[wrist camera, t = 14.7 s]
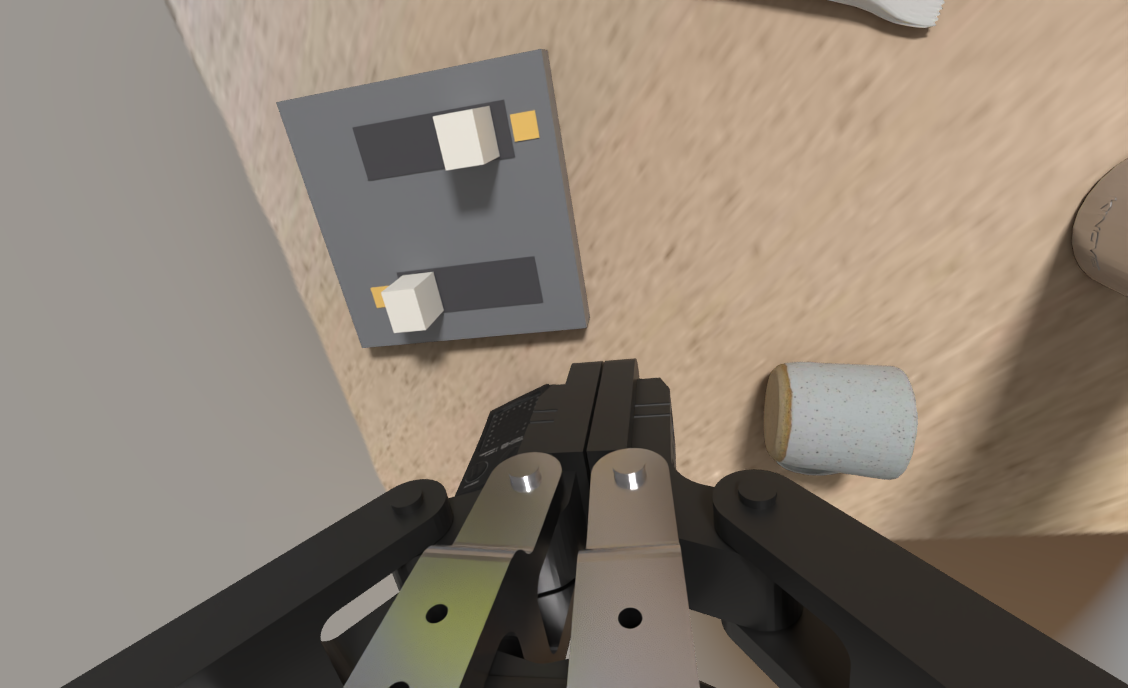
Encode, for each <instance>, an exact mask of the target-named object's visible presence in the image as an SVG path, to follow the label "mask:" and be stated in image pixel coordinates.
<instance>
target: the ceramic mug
mask: <svg viewBox="0 0 1128 688" xmlns="http://www.w3.org/2000/svg"><path fill="white" fill-rule="evenodd" d="M917 425H918V417H917V409H916V400H915V394H914V392H913V389H912V386H911V383H910V381H909V379H908V377H907V375H906V374H905V373H904V372H903V371H902V370H901V369H899V368H897V367H894V366H878V365H858V364H831V363H816V362H793V363H784V364H780V365H778V366H777V367H776V368H774V370H773V371H772V372H771V374H770V376H769V380H768V384H767V389H766V395H765V405H764V439H765V445H766V448H767V452H768V453H769V455H770V456H771V457H772V458H773V459H774V460H776V462H777V463H778V464H779V465H780V466H782V467H783V468H785V469H787V470H790V471H792V472H796V473H800V474H806V475H832V474H837V473H844V474H851V475H858V476H864V477H871V478H878V479H887V480H892V479H896V478H898V477H899V476H900V475H901V474H902V473H903V472H904V471H905V470H906V468H907V466H908V464H909V462H910V460H911V457H912V454H913V450H914V444H915V440H916V434H917Z"/></svg>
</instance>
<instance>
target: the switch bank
mask: <svg viewBox="0 0 1128 688" xmlns="http://www.w3.org/2000/svg"><path fill="white" fill-rule="evenodd" d="M276 103H277V106H278V109H279V112H280V115H281V118H282V121H283V123H284V126H285V129H286V132H287V135H288V138H289V141H290V143H291V146H292V149H293V152H294V155H295V158H296V161H297V163H298V166H299V169H300V172H301V175H302V178H303V180H304V183H305V186H306V189H307V192H308V195H309V198H310V200H311V203H312V206H313V209H314V212H315V215H316V218H317V220H318V223H319V226H320V229H321V232H322V235H323V238H324V240H325V243H326V246H327V249H328V252H329V255H330V258H331V260H332V263H333V266H334V269H335V272H336V275H337V277H338V280H339V283H340V286H341V289H342V292H343V295H344V297H345V300H346V303H347V306H348V309H349V312H350V315H351V317H352V320H353V323H354V326H355V329H356V332H357V335H358V337H359V340H360V343H361V346H362V348H368V347H379V346H390V345H401V344H412V343H424V342H435V341H446V340H457V339H468V338H479V337H491V336H502V335H513V334H524V333H535V332H546V331H557V330H569V329H580V328H587V325H588V322H589V318H590V314H589V308H588V302H587V295H586V289H585V283H584V277H583V270H582V264H581V258H580V251H579V245H578V239H577V233H576V226H575V220H574V214H573V207H572V201H571V195H570V189H569V182H568V176H567V170H566V163H565V157H564V151H563V145H562V138H561V132H560V126H559V119H558V113H557V107H556V101H555V94H554V88H553V82H552V76H551V69H550V63H549V57H548V50H544V49H538V50H533V51H528V52H523V53H518V54H513V55H509V56H504V57H499V58H494V59H489V60H484V61H479V62H474V63H469V64H464V65H459V66H454V67H449V68H444V69H439V70H434V71H429V72H424V73H419V74H414V75H409V76H404V77H399V78H394V79H390V80H385V81H380V82H375V83H370V84H365V85H360V86H355V87H350V88H345V89H340V90H335V91H330V92H325V93H320V94H315V95H310V96H305V97H300V98H295V99H290V100H285V101H280V102H276ZM486 106H490V111H491V116H492V121H493V126H494V131H495V136H496V140H497V145H498V150H499V155H500V156H499V157H497V158H495V159H493V160H492V161H490V162H488V163H486V164H483V165H477V166H471V167H465V168H458V169H452V170H446V169H445V165H444V161H443V157H442V153H441V149H440V145H439V141H438V137H437V132H436V128H435V124H434V120H433V116H438V115H443V114H448V113H453V112H458V111H464V110H469V109H475V108H480V107H486ZM427 272H433V273H434V276H435V280H436V284H437V287H438V291H439V295H440V298H441V302H442V306H443V309H444V311H443V312H442V313H441V314H440V315H439V316H438V317H437V318H436V320H435V321H434V322H433V323H432V324H431V325H430V326H429V327H428V328H427V329H426V330H421V331H410V332H400V333H394V332H393V329H392V326H391V322H390V319H389V316H388V313H387V310H386V307H385V304H384V301H383V297H382V294H381V292H382V291H383V290H385V289H386V288H387V287H388V286H390V285H391V284H392V283H394V282H395V281H396V280H397V279H399V278H400V277H401V276H402V275H410V274H419V273H427Z"/></svg>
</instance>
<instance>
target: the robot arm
mask: <svg viewBox="0 0 1128 688" xmlns="http://www.w3.org/2000/svg"><path fill="white" fill-rule="evenodd" d="M1072 246H1073V252H1074V256H1075V258H1076V260H1077V262H1078V264H1079V266H1080V268H1081V269H1082V270H1083V271H1084V272H1085V273H1086V274H1087V275H1088V276H1089V277H1090V278H1092V279H1093V280H1095V281H1097V282H1099V283H1100V284H1102V285H1104V286H1106V287H1108V288H1110V289H1112V290H1114V291H1117V292H1119V293H1121V294H1123V295H1125V296H1127V297H1128V158H1127V159H1126V160H1124V161H1123V162H1121V163H1119V164H1118V165H1116V166H1115V167H1114V168H1113V169H1112V170H1111V171H1110V172H1109V173H1107V174H1106V175H1105V176H1104V177H1103V178H1102V179H1101V180H1100V181H1099V182H1098V183H1097V184H1096V186H1095V187H1094V188H1093V189H1092V190H1091V192H1090V193H1089V194H1088V195H1087V197H1086V199H1085V201H1084V202H1083V204H1082V206H1081V208H1080V209H1079V211H1078V214H1077V217H1076V220H1075V223H1074V226H1073V234H1072ZM391 573H392V574H393V576H394V579H395V582H396V584H397V587H398V589H399V591H400V592H399V593H398V594H396V595H395V596H394V597H392V598H391V599H389V600H388V601H386V602H385V603H384V604H382V605H381V606H380V607H378V608H377V609H375V610H374V611H373V612H371V613H370V614H369V615H367V616H366V617H364V618H363V619H362V620H360V621H359V622H358V623H356V624H355V625H353V626H352V627H351V628H349V629H348V630H346V631H345V632H344V633H342V634H341V635H339V636H338V637H336V638H335V639H332V640H330V641H323V642H322V641H321V638H320V636H321V631H322V628H323V626H324V624H325V623H326V621H327V620H328V619H329V617H330V616H332V615H333V614H334V613H335V612H336V611H338V610H339V609H341V608H342V607H344V606H345V605H346V604H348V603H349V602H351V601H352V600H354V599H355V598H356V597H358V596H359V595H361V594H362V593H364V592H365V591H367V590H368V589H369V588H371V587H372V586H374V585H375V584H377V583H378V582H380V581H381V580H382V579H384V578H385V577H387V576H388V575H390V574H391ZM689 609H691V610H694V611H697V612H700V613H703V614H707V615H710V616H713V617H716V618H719V619H721V621H722V625H723V627H724V630H725V631H726V633H727V634H728V636H729V637H730V638H731V639H732V640H733V641H734V642H735V643H736V644H737V645H738V646H739V647H740V648H741V649H742V650H743V651H744V652H745V653H746V654H747V655H748V656H749V657H750V658H751V659H752V660H753V661H754V662H755V663H756V664H757V666H758V667H759V668H760V669H761V670H763V672H765V673H766V675H768V676H769V678H770V679H771V680H772V681H773V682H774V683H775V684H777V686H778V687H779V688H1128V685H1127V684H1126V683H1124V682H1122V681H1121V680H1119V679H1118V678H1116V677H1114V676H1113V675H1111V674H1109V673H1108V672H1106V671H1104V670H1103V669H1101V668H1099V667H1098V666H1096V665H1095V664H1093V663H1091V662H1089V661H1088V660H1086V659H1085V658H1083V657H1081V656H1080V655H1078V654H1076V653H1075V652H1073V651H1071V650H1070V649H1068V648H1066V647H1065V646H1063V645H1062V644H1060V643H1058V642H1057V641H1055V640H1053V639H1052V638H1050V637H1048V636H1047V635H1045V634H1043V633H1042V632H1040V631H1039V630H1037V629H1035V628H1034V627H1032V626H1030V625H1029V624H1027V623H1025V622H1024V621H1022V620H1020V619H1019V618H1017V617H1015V616H1014V615H1012V614H1011V613H1009V612H1007V611H1006V610H1004V609H1002V608H1001V607H999V606H997V605H996V604H994V603H992V602H991V601H989V600H987V599H986V598H984V597H983V596H981V595H979V594H977V593H976V592H974V591H973V590H971V589H969V588H968V587H966V586H964V585H963V584H961V583H959V582H958V581H956V580H954V579H953V578H951V577H950V576H948V575H946V574H945V573H943V572H941V571H940V570H938V569H936V568H935V567H933V566H931V565H930V564H928V563H926V562H925V561H923V560H921V559H920V558H918V557H917V556H915V555H913V554H912V553H910V552H908V551H907V550H905V549H903V548H902V547H900V546H899V545H897V544H895V543H893V542H892V541H890V540H889V539H887V538H885V537H884V536H882V535H880V534H879V533H877V532H875V531H874V530H872V529H871V528H869V527H867V526H866V525H864V524H862V523H861V522H859V521H857V520H856V519H854V518H852V517H851V516H849V515H847V514H846V513H844V512H843V511H841V510H839V509H838V508H836V507H834V506H833V505H831V504H829V503H828V502H826V501H824V500H823V499H821V498H819V497H818V496H816V495H815V494H813V493H811V492H810V491H808V490H806V489H805V488H803V487H801V486H800V485H798V484H796V483H795V482H793V481H791V480H790V479H788V478H786V477H784V476H782V475H780V474H777V473H774V472H770V471H765V470H743V471H738V472H734V473H731V474H729V475H727V476H725V477H724V478H722V479H721V480H720V481H719V482H718V483H717V484H716V486H715V487H711V486H707V485H702V484H698V483H696V482H693V481H691V480H689V479H687V478H685V477H684V476H682V475H681V474H680V473H679V472H678V471H677V470H676V453H675V437H674V427H673V417H672V408H671V398H670V389H669V388H668V386H667V385H666V384H665V383H664V382H663V381H662V379H661V378H649V379H640V378H639V370H638V364H637V360H636V359H623V360H610V361H605V362H603V361H598V362H585V363H573V364H572V365H571V368H570V371H569V374H568V378H567V381H566V384H562V385H551V386H550V387H549V388H548V389H547V390H546V391H545V392H544V393H543V394H542V395H541V396H540V397H539V398H538V401H537V403H536V406H535V409H534V413H533V414H532V416H531V419H530V424H528V427H527V429H526V432H525V435H524V437H523V440H522V443H521V445H520V448H519V450H518V453H517V455H516V456H513V457H511V458H509V459H507V460H505V461H503V462H502V463H500V464H499V465H498V466H497V467H496V468H495V469H494V470H493V471H492V473H491V474H490V476H489V478H488V480H487V482H486V484H485V485H484V487H483V489H481V490H478V491H475V492H471V493H467V494H463V495H459V496H456V497H452V498H448V496H447V493H446V490H445V488H444V486H443V485H442V484H441V483H439V482H437V481H434V480H429V479H420V480H413V481H409V482H406V483H403V484H401V485H398V486H396V487H394V488H393V489H391V490H389V491H387V492H386V493H384V494H382V495H381V496H379V497H377V498H376V499H374V500H372V501H371V502H369V503H367V504H366V505H364V506H362V507H361V508H360V509H358V510H356V511H354V512H352V513H351V514H349V515H348V516H346V517H344V518H342V519H341V520H339V521H338V522H336V523H334V524H333V525H331V526H329V527H328V528H326V529H324V530H322V531H321V532H319V533H318V534H316V535H314V536H312V537H311V538H309V539H307V540H306V541H304V542H302V543H301V544H299V545H298V546H296V547H294V548H293V549H291V550H289V551H287V552H286V553H284V554H282V555H281V556H279V557H278V558H276V559H274V560H273V561H271V562H269V563H267V564H266V565H264V566H263V567H261V568H259V569H258V570H256V571H254V572H252V573H251V574H250V575H247V576H246V577H244V578H242V579H241V580H239V581H237V582H236V583H234V584H232V585H231V586H229V587H228V588H226V589H224V590H222V591H221V592H219V593H217V594H216V595H214V596H212V597H211V598H209V599H207V600H206V601H204V602H202V603H201V604H199V605H197V606H196V607H194V608H193V609H191V610H189V611H188V612H186V613H184V614H182V615H181V616H179V617H178V618H176V619H174V620H172V621H171V622H169V623H167V624H166V625H164V626H162V627H161V628H159V629H158V630H156V631H154V632H152V633H151V634H149V635H148V636H146V637H144V638H142V639H141V640H139V641H137V642H136V643H134V644H132V645H131V646H129V647H128V648H126V649H124V650H122V651H121V652H119V653H118V654H116V655H114V656H113V657H111V658H109V659H108V660H106V661H104V662H102V663H101V664H99V665H97V666H96V667H94V668H93V669H91V670H89V671H88V672H86V673H84V674H82V675H81V676H79V677H77V678H76V679H74V680H72V681H71V682H70V683H68V684H66V685H64V686H62V687H61V688H715V687H713V686H711V685H708V684H706V683H704V682H702V681H699V678H698V671H697V663H696V656H695V649H694V642H693V634H692V627H691V620H690V613H689ZM570 639H571V643H570ZM569 643H570V655H569V659H566V655H567V651H568V647H569Z"/></svg>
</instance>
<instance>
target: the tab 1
mask: <svg viewBox="0 0 1128 688" xmlns="http://www.w3.org/2000/svg"><path fill="white" fill-rule="evenodd" d="M381 294H382V297H383V301H384V304H385V307H386V310H387V313H388V316H389V319H390V322H391V326H392V329H393V332H394V333H400V332H410V331H421V330H426V329H427V328H428V327H429V326H430V325H431V324H432V323H433V322H434V321H435V320H436V318H437V317H438V316H439V315H440V314H441V313H442V312H443V311H444V309H443V306H442V302H441V298H440V295H439V291H438V287H437V284H436V280H435V276H434V273H433V272H427V273H419V274H410V275H402V276H401V277H400V278H399V279H397V280H396V281H395V282H394V283H392V284H391V285H390V286H388V287H387V288H386V289H385V290H383V291H382V292H381Z"/></svg>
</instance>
